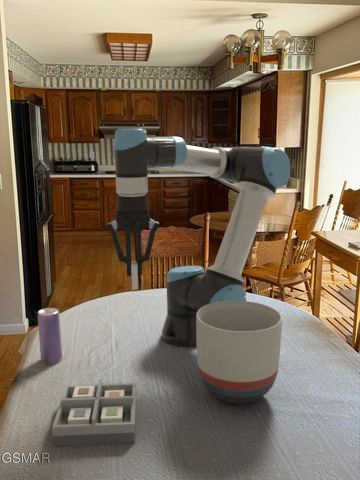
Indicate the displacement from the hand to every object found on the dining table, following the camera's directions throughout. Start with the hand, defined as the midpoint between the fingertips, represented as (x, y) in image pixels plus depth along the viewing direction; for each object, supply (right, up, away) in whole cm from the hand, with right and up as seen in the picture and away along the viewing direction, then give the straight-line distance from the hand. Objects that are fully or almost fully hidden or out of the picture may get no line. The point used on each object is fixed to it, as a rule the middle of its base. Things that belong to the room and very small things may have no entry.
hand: (135, 287), depth 120 cm
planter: (+25, -27, 0) cm, 37 cm away
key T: (-11, -29, -15) cm, 34 cm away
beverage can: (-26, -23, +19) cm, 39 cm away
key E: (-11, -26, -8) cm, 30 cm away
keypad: (-7, -29, -11) cm, 32 cm away
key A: (-4, -27, -7) cm, 29 cm away
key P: (-4, -29, -14) cm, 32 cm away
